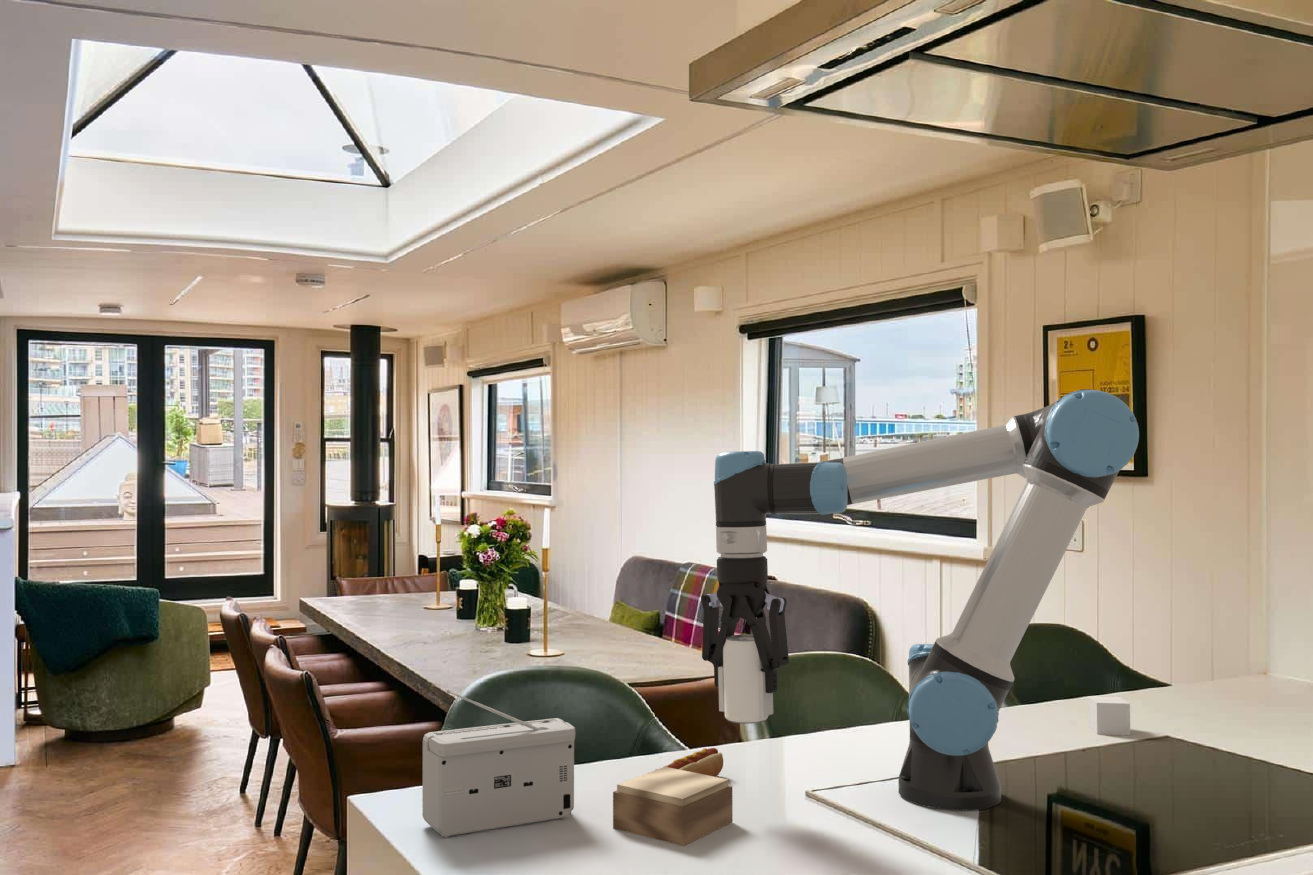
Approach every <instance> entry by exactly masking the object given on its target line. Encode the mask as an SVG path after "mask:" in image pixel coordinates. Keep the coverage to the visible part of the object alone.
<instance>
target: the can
mask: <svg viewBox="0 0 1313 875" xmlns="http://www.w3.org/2000/svg"><path fill="white" fill-rule="evenodd" d="M762 668H763V667H762V663H761V660H760V657H759V653H758V650H757V647H756V644H755V639H754V637H753V634H734V635H732V636H730V637H726V642H725V645H724V647H723V673H724V708H725V711H724V718H725V719H726V721H728V722H730V723H732V724H733V723H735V724H741V725H742V724H743V725H745V724H746V725H748V724H759V723H762V722H765V721H767V719H768V718H769V715H768V716H766V717H759V685H758V671H761V670H760V669H762Z"/></svg>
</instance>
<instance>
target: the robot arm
mask: <svg viewBox="0 0 1313 875" xmlns="http://www.w3.org/2000/svg"><path fill="white" fill-rule="evenodd" d="M1138 424H1139V423H1138V422H1137V418H1136V417H1135V414H1134V412H1133V410H1131V408H1130V407H1129V405H1128V404H1126V403H1125V402H1124V401H1123V400H1121V398H1119V397H1117V396H1116V395H1113V394H1111V393H1108V392H1106V391H1102V390H1098V389H1080V390H1074V391H1073V392H1069V393H1068V394H1066V395H1064V396H1062V397H1061V398H1060V399H1059V400H1056V401H1055V402H1053V403H1050V404H1049V405H1046V406H1044V407H1042V408H1040V409H1037V410H1033V411H1032V412H1031V411H1030V412H1027V413H1023V414H1018V415H1014V416H1013V415H1012V416H1011V417H1010V419H1009V420H1008V421H1007V423H1005V424H1002V425H997V426H993V427H986V428H983V429H979V430H973V431H967V432H963V433H962V432H961V433H957V434H954V435H953V434H952V435H948V436H944V437H938V438H934V439H933V438H932V439H930V440H923V441H919V442H913V443H909V444H903V445H899V446H895V447H888V448H885V449H884V448H883V449H879V450H874V451H870V452H865V453H859V454H856V455H855V454H854V455H850V456H844V457H841V458H835V459H829V460H825V461H818V462H796V463H767V461H766V459H765V454H764V453H763V452H762V451H761V450H760V451H759V450H750V451H749V450H748V451H747V450H746V451H744V450H738V451H736V450H735V451H723V452H720V453H719V454H717V455H716V457H715V460H714V481H713V486H714V487H713V489H714V506H715V507H714V508H715V509H714V511H715V539H716V540H715V542H716V543H715V545H716V546H715V547H716V553H717V554H720V556H719V557H717V559H716V580H717V581H718V588H717V590H716V592H714V593H707V594H703V595H701V597H700V601H701V605H702V609H703V618H702V620H703V621H702V622H703V623H702V627H703V628H702V641H701V642H702V645H701V647H702V649H701V658H702V660H703V661H707V662H709V663H710V664H712V665H713V677H714V678H713V679H714V680H713V681H714V682H713V684H714V686H715V688H718V710H719V711H718V712H723V713H725V708H724V673H723V647H724V645H725V642H726V637H730V636H732V635H735V633H736V630H737V629H736V628H737V625H738V623H739V622H740V620H741V619H743V620H745V621H746V622H747V625H748V626H749V628H750V629H751V635H753V637H754V639H755V644H756V647H757V650H758V653H759V657H760V660H761V663H762V667H763V668H762V669H760V670H761V671H758V685H759V717H766V716H768V717H769V716H770V715H774V694H775V693H777V690H778V670H779V668H782V667H786V666H788V665H789V663H790V659H789V657H790V656H789V647H788V637H787V629H786V626H787V625H786V619H785V617H786V616H785V614H786V613H785V612H786V608H787V607H786V606H787V604H788V603H787V602H788V601H787V599H786V597H785V596H781V597H777V596H775V595H772V594H771V593H770V591H769V588H768V586H767V584H768V579H769V578H768V577H769V576H768V572H769V571H768V558H767V557H766V556H765V555H764V553H767V551H768V540H767V539H768V538H767V537H768V536H767V515H771V516H772V515H821V516H825V515H830V514H842V513H844V512H845V511H847V510H846V509H847V508H848V506H850V505H856V504H860V503H867V502H871V501H877V500H882V499H888V498H892V497H897V496H898V497H899V496H903V495H904V496H905V495H908V494H914V493H919V492H924V491H930V490H935V489H939V488H940V489H941V488H945V487H951V486H956V485H961V484H962V485H963V484H967V483H972V482H977V481H983V480H984V481H985V480H989V479H994V478H998V477H1000V478H1001V477H1005V476H1008V475H1015V474H1016V475H1019V476H1020V477H1022V478H1024V479H1026V483H1025V485H1024V486H1023V489H1022V491H1021V492H1020V495H1019V496H1018V499H1017V500H1016V503H1015V505H1014V507H1013V509H1012V511H1011V513H1010V515H1009V516H1008V519H1007V522H1006V523H1005V525H1004V527H1003V529H1002V532H1001V534H999V535H1000V536H999V538H998V539H997V541H996V544H995V546H994V548H993V549H992V551H991V554H990V555H989V557H988V559H987V562H986V564H985V566H984V568H983V570H982V572H981V574H980V576H979V578H978V580H977V582H976V584H975V586H974V588H973V590H972V592H971V594H970V596H969V598H968V601H967V602H966V603H965V606H964V607H963V610H962V612H961V614H960V616H959V618H958V620H957V623H956V625H955V627H954V629H953V630H952V632H951V633H949V634H947V635H944V636H940V637H937V638H936V639H935V641H934V643H915V644H912V645H911V646H910V648H909V650H908V659H907V662H906V663H907V665H908V700H907V704H906V706H907V707H906V709H907V717H908V720H909V742H908V743H909V744H908V747H907V750H906V752H905V756H904V759H903V763H902V766H901V769H900V771H899V775H898V794H899V796H900V797H901V798H903V799H904V800H906V801H908V802H911V803H913V804H915V805H919V806H924V807H927V808H933V809H940V810H951V811H975V810H984V809H989V808H993V807H995V806H997V805H998V804H1000V803H1001V801H1002V785H1001V781H1000V778H999V774H998V772H997V769H996V766H995V762H994V761H993V758H992V754H991V750H990V748H989V742H990V741H991V739H992V737H993V736H994V734H995V732H996V731H997V728H998V723H999V715H1000V713H999V712H1000V710H1001V708H1002V706H1003V704H1004V701H1005V700H1006V697H1007V696H1008V694H1009V692H1010V689H1011V687H1012V686H1013V684H1014V681H1015V675H1014V672H1013V670H1012V667H1011V661H1012V659H1013V658H1014V655H1015V653H1016V651H1017V649H1018V647H1019V645H1020V643H1021V641H1022V639H1023V637H1024V635H1025V633H1026V631H1027V629H1028V627H1029V625H1030V623H1031V621H1032V619H1033V618H1034V615H1035V613H1036V611H1037V609H1038V607H1039V605H1040V603H1041V602H1042V600H1043V597H1044V595H1045V594H1046V591H1047V589H1048V587H1049V585H1050V583H1051V581H1052V580H1053V577H1054V575H1055V574H1056V571H1057V569H1058V567H1059V566H1060V563H1061V561H1062V559H1063V557H1064V556H1065V553H1066V551H1067V549H1068V547H1069V545H1070V543H1071V541H1072V539H1073V537H1074V536H1075V533H1076V532H1077V528H1079V525H1080V524H1081V521H1082V519H1083V518H1084V515H1085V513H1086V511H1087V509H1088V508H1090V507H1092V506H1095V505H1098V504H1099V505H1100V504H1102V503H1104V501H1105V500H1106V498H1107V496H1108V494H1109V492H1110V490H1111V488H1112V487H1113V484H1114V481H1115V480H1116V478H1117V476H1118V474H1119V472H1120V471H1121V470H1123V468H1124V467H1126V466H1127V465H1128V464H1129V462H1130V461H1131V460H1132V459H1133V457H1134V455H1135V453H1136V450H1137V448H1138V444H1139V440H1140V431H1139V430H1140V428H1139V425H1138ZM720 605H721V606H722V608H723V610H722V614H721V618H720V607H719V606H720ZM766 605H767V607H766ZM765 607H766V609H767V610H768V621H769V622H768V624H769V628H768V626H767V617H766V613H765V609H764V608H765ZM720 621H721V625H720V624H719V622H720ZM719 625H720V628H719ZM769 632H770V633H769Z"/></svg>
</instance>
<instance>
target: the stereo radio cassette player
mask: <svg viewBox="0 0 1313 875" xmlns="http://www.w3.org/2000/svg"><path fill="white" fill-rule="evenodd" d="M445 693H446V694H448V695H449V694H452V695H454V696H456V697H458V698H460V699H462V700H464V701H466V702H469V703H471V704H474V705H475V706H477V707H479V708H481V709H484V710H487V711H489V712H491V713H494V714H496V715H498V716H500V717H503V718H504V719H506V720H509V721H512V722H511V723H500V724H499V723H498V724H491V725H484V726H473V727H465V728H464V727H463V728H455V729H449V730H448V729H447V730H438V731H428V732H427V733H425V734H424V735H423V738H422V818H423V820H424V821H425V822H426V823H427V824H428V825H429V826H430V827H431V828H432V829H434V830H435V832H437V833H438V834H440V835H441V836H442V837H444V838H445V839H446V838H447V839H448V838H449V837H450V836H455V835H456V836H458V835H462V834H467V833H475V832H481V831H486V830H487V831H488V830H494V829H500V828H507V827H513V826H519V825H526V824H531V823H537V822H544V821H549V820H550V821H551V820H557V819H565V820H566V819H567V818H569V817H570V815H571V813H572V811H573V810H574V808H575V740H576V727H575V726H573V725H572V724H571V723H569V722H566V721H564V720H563V719H562V718H560V717H559V718H558V717H556V718H555V717H554V718H545V719H538V720H535V719H534V720H528V721H523V720H520V719H518V718H516V717H513V716H511V715H509V714H506V713H504V712H501V711H499V710H498V709H494V708H492V707H490V706H487V705H485V704H482V703H479V702H477V701H474V700H472V699H469V698H467V697H464V696H462V695H460V694H456V693H454V692H451V690H450V689H446V690H445Z"/></svg>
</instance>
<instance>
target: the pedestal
mask: <svg viewBox="0 0 1313 875" xmlns="http://www.w3.org/2000/svg"><path fill="white" fill-rule="evenodd" d="M733 817H734V816H733V786H732V785H729V778H723V777H718V776H716V777H713V776H708V775H703V774H698V773H693V772H689V771H684V770H679V769H674V768H669V767H664V766H663V767H660V768H657V769H655V770H652V771H649V772H646V773H644V774H641V775H638V776H636V777H633V778H631V779H628V780H626V781H623V782H620V783H617V784H616V790H615V791H612V828H613V829H614V830H618V831H623V832H626V833H630V834H635V835H638V836H642V837H646V838H650V839H654V840H658V841H661V842H666V843H669V844H674V845H678V846H681V847H684V846H688V844H690V843H693V842H695V841H697V840H699V839H702V838H704V837H705V836H707V835H710V834H711V833H714V832H715V830H716V831H718V830H720V829H722V828H724V827H726V826H727V825H730V824H733V823H734V822H733V820H734V819H733ZM723 826H724V827H723ZM721 827H722V828H721Z"/></svg>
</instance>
